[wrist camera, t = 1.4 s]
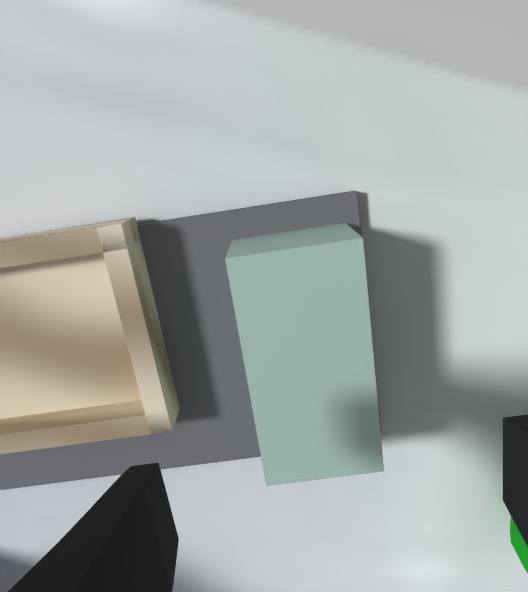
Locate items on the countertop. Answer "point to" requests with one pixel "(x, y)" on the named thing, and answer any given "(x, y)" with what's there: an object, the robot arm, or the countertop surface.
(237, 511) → the countertop surface
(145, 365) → the tray
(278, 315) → the block
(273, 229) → the mat
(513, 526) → the green round ball
